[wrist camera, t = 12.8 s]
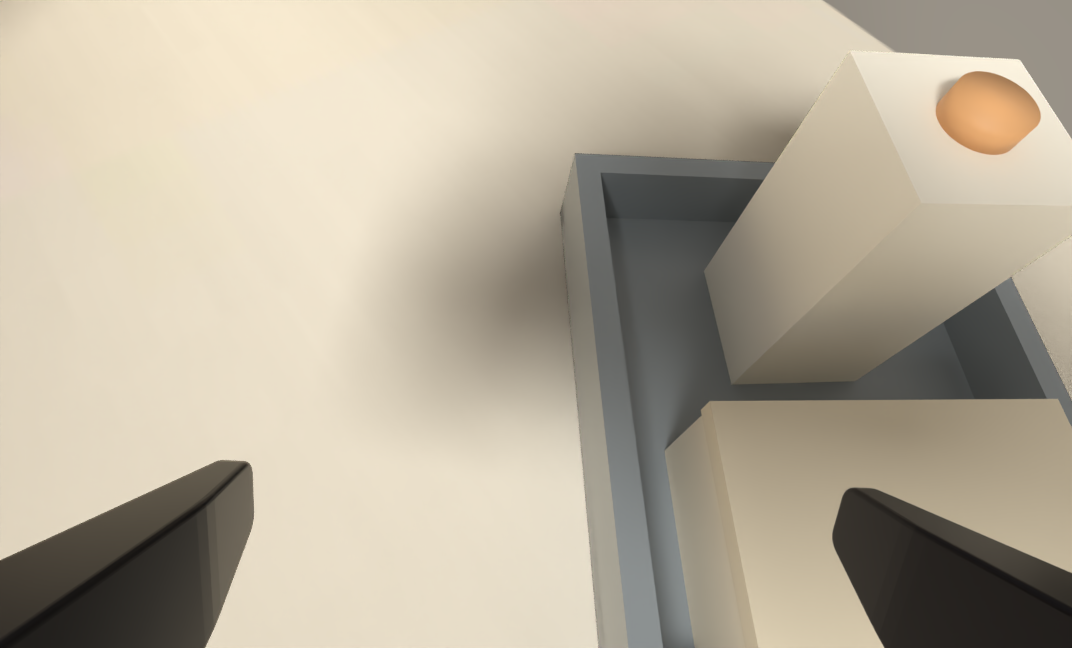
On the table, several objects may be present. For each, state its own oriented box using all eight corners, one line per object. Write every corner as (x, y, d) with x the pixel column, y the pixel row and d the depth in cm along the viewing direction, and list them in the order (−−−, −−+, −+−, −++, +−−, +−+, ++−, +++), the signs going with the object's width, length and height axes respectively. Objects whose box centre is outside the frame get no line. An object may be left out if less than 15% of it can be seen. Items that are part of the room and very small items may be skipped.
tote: (1112, 731, 21) (1242, 748, 18) (609, 776, 19) (645, 804, 15) (902, 224, 32) (959, 171, 28) (560, 212, 29) (575, 153, 26)
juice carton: (855, 381, 26) (1146, 185, 15) (731, 384, 25) (944, 181, 14) (817, 271, 28) (1042, 36, 17) (703, 271, 27) (866, 25, 17)
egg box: (1039, 675, 21) (1194, 682, 17) (699, 700, 19) (771, 715, 15) (950, 443, 25) (1058, 398, 20) (661, 448, 23) (709, 401, 19)
